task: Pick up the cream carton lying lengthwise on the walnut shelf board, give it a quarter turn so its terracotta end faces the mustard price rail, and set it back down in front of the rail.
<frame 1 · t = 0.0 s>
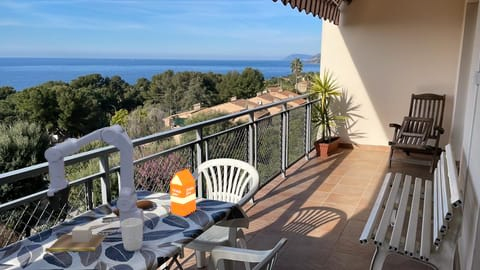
hand: (60, 206, 154), 10 cm above the table, tool pointing down, fingers open, 7 cm apart
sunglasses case: (132, 211, 178), on the table
shelf board: (78, 243, 143), on the table
carton: (78, 240, 145), point 1 cm above the table, touching shelf board
orange juice: (183, 212, 175), on the table
white cup: (133, 247, 140), on the table
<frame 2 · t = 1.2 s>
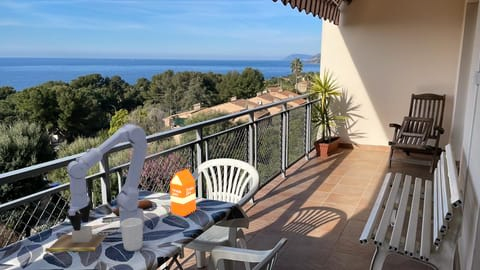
hand: (81, 226, 144), 6 cm above the table, tool pointing down, fingers open, 7 cm apart
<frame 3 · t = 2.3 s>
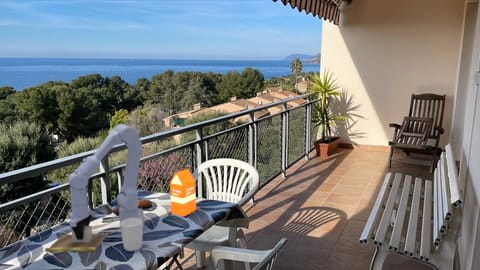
hand: (82, 236, 145), 2 cm above the table, tool pointing down, fingers closed on carton, 4 cm apart
carton: (78, 240, 145), point 1 cm above the table, touching gripper, shelf board
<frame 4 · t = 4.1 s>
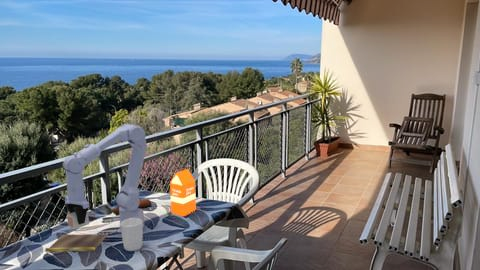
hand: (78, 222, 141), 9 cm above the table, tool pointing down, fingers closed on carton, 4 cm apart
carton: (74, 226, 140), point 8 cm above the table, touching gripper
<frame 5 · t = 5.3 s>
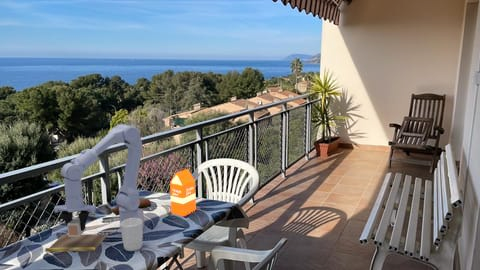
hand: (77, 229, 140), 7 cm above the table, tool pointing down, fingers closed on carton, 4 cm apart
carton: (75, 235, 139), point 5 cm above the table, touching gripper
when the fingers open (3 cm above the table, at t = 6.3 s): carton stays where it is, resting on shelf board.
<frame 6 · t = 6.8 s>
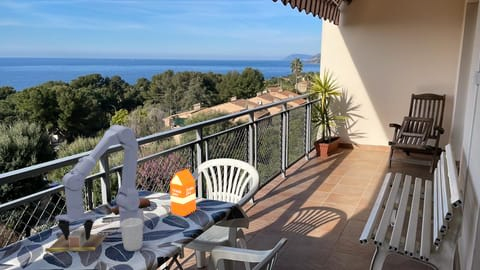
hand: (77, 238, 141), 3 cm above the table, tool pointing down, fingers open, 7 cm apart
carton: (76, 246, 140), point 1 cm above the table, touching shelf board
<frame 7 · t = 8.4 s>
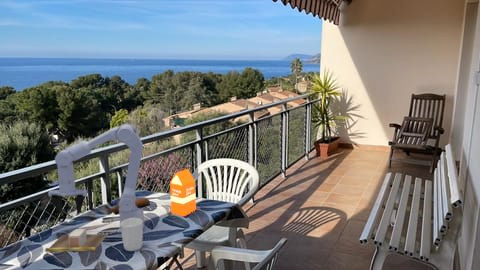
hand: (69, 213, 149), 9 cm above the table, tool pointing down, fingers open, 7 cm apart
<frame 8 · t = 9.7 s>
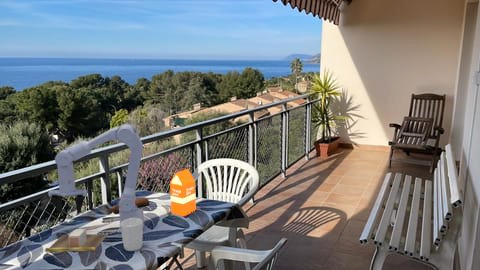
hand: (69, 213, 149), 9 cm above the table, tool pointing down, fingers open, 7 cm apart
at the end: carton 0.1 cm from the target spot, point 0.6 cm above the table; carton tilted 0°; the gripper is holding nothing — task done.
